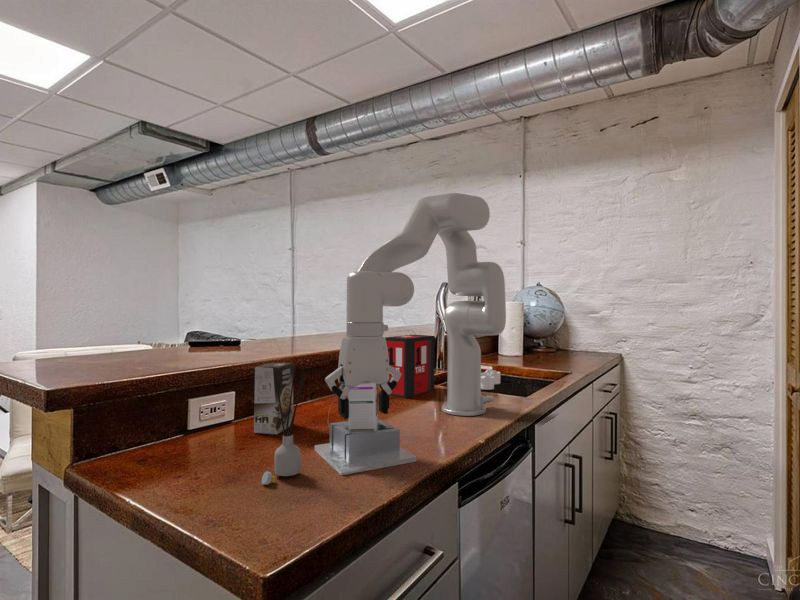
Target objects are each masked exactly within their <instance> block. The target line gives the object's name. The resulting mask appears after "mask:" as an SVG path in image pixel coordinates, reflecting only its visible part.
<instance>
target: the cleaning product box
mask: <svg viewBox="0 0 800 600" xmlns="http://www.w3.org/2000/svg"><path fill="white" fill-rule="evenodd" d="M435 337H436V336H435V335H425V334H408V335H407V334H406V335H395V336H385V339H386V343H387V349H388V357H389V365H390V366H391V367H393V368H394V369H396V370H397V371H399V372H400V373H401V377H400V379H399V380H398V382H397V385H396V386H395V388H394V389H393V390H392V393H391V394H390V395H389V397H394V398H401V399H403V400H404V399H410V398H413V397H416V396H418V395H419V396H420V395H422V394H425V393H428V392H433V391H435V339H436V338H435ZM391 378H392V374H390V373H389V380H391ZM388 382H389V381H388ZM388 382H387V383H388Z"/></svg>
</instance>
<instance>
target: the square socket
mask: <svg viewBox="0 0 800 600" xmlns="http://www.w3.org/2000/svg"><path fill="white" fill-rule="evenodd" d="M400 443H401V430H400V429H399V428H397V427H395V426H394V425H391V424H389V423H388V422H386V421H384V420H382V419H380V418H379V417H378V431H372V432H365V433H358V434H352V433H351V432H349V431H348V420H346V421H338V422H330V423H329V442H328V443H321V444H315V445H314V451H315V452H316V453H317V454H318V455H319V456H320V457H322V459H323V460H324V461H325V462H326V463H327V464H328V465H329V466H331V468H333V469H334V470H335V471H336V472H337V473H338V474H339V475H340V476H345V475H346V476H347V475H351V474H355V473H362V472H363V473H364V472H367V471H373V470H377V469H384V468H387V467H388V468H389V467H395V466H400V465H404V464H409V463H410V464H411V463H416V462H418V461H417V460H418V459H417V456H416V454H413V453H412V452H410V451H408V450H407V449H405V448H404V447H401V445H400Z"/></svg>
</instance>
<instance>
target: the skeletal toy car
mask: <svg viewBox="0 0 800 600" xmlns="http://www.w3.org/2000/svg"><path fill="white" fill-rule="evenodd" d="M481 370H485V371H484V372H481V390H495V385H500V384H501V372H500V371H497V370H494V369H493V366H490V365H489V366H488V365H482V364H481Z"/></svg>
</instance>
